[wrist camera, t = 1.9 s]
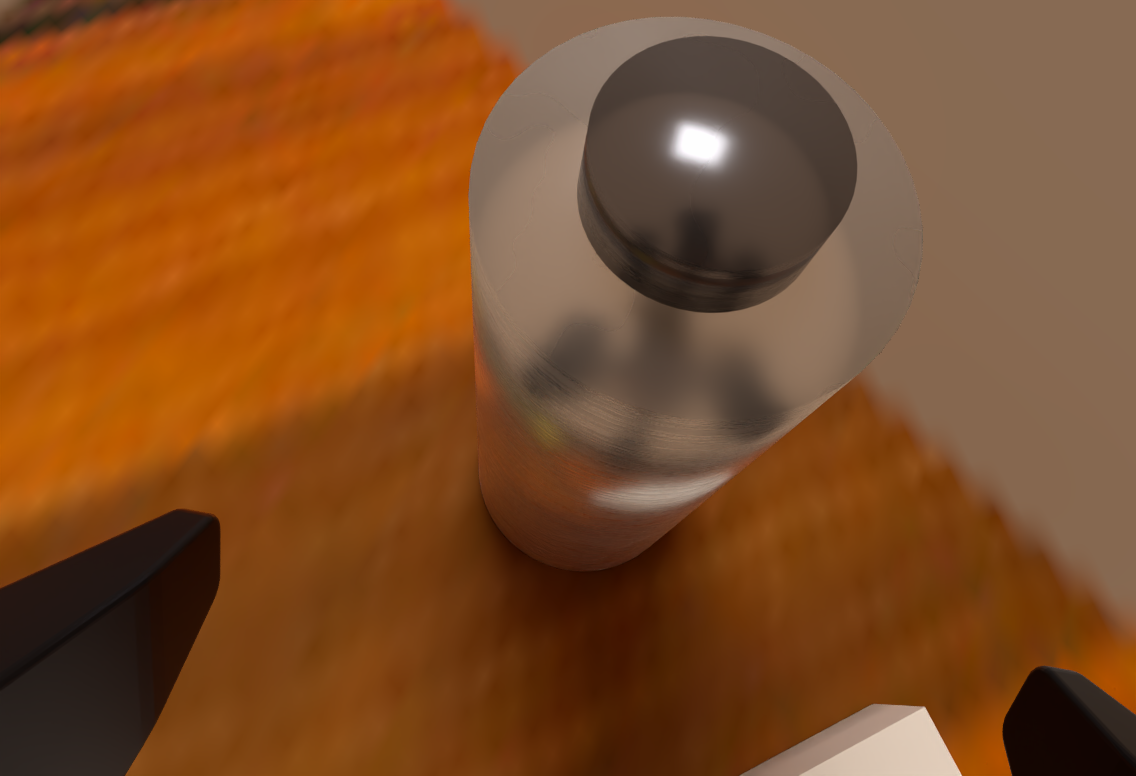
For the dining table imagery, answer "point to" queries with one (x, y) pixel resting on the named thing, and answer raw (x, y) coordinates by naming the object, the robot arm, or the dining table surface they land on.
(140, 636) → the robot arm
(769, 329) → the metal water bottle
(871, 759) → the serving tray
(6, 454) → the dining table surface
